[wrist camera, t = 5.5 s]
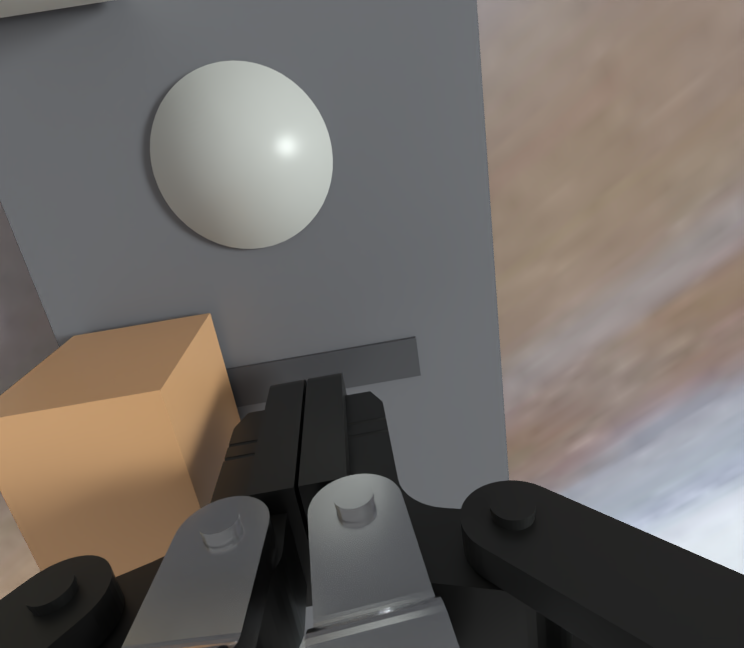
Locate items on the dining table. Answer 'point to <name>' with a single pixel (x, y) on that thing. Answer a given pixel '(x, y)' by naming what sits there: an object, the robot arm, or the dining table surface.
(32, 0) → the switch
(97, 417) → the switch middle
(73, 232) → the power strip
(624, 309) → the dining table surface
